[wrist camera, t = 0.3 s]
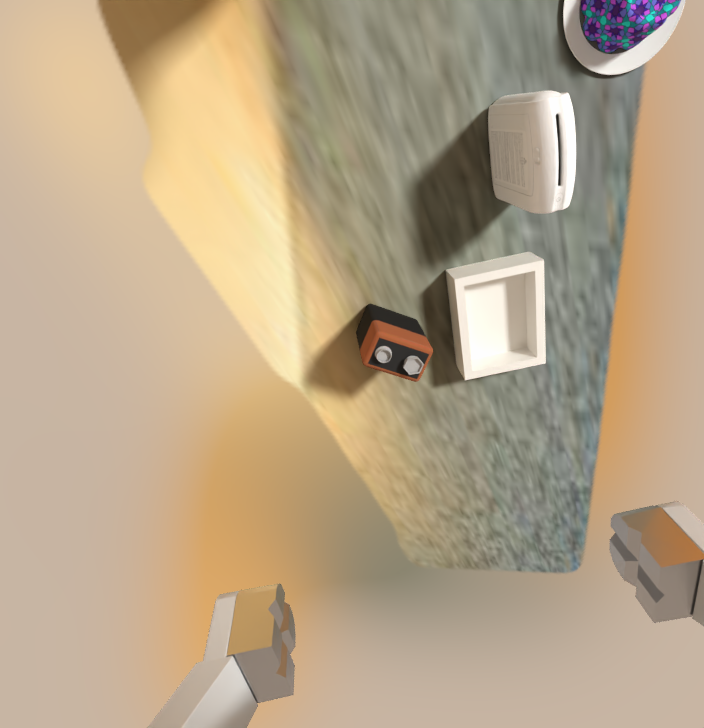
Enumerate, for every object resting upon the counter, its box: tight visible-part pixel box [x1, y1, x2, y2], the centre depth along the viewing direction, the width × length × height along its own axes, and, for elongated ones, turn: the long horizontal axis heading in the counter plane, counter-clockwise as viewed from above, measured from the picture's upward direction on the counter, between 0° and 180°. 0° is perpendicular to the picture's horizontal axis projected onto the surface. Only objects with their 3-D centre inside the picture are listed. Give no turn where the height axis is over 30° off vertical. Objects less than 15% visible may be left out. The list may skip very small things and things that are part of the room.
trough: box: [446, 252, 546, 380], centre depth 57 cm, size 13×10×4 cm
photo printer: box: [488, 91, 576, 214], centre depth 45 cm, size 10×4×12 cm, turn 13°
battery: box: [356, 304, 433, 382], centre depth 54 cm, size 4×7×10 cm, turn 69°
